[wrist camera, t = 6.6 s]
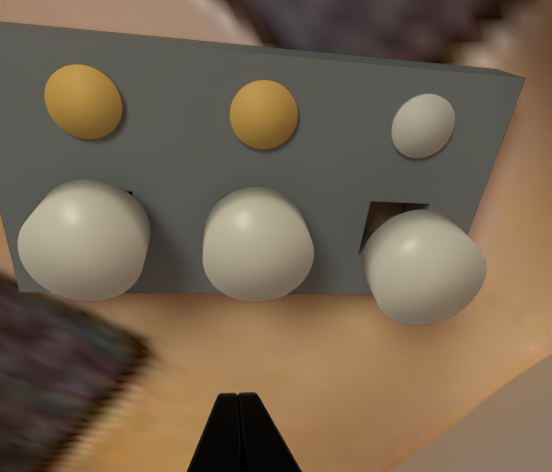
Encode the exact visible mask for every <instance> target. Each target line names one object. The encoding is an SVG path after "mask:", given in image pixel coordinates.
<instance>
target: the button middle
mask: <svg viewBox="0 0 552 472" xmlns="http://www.w3.org/2000/svg"><path fill="white" fill-rule="evenodd" d="M313 258H314V247H313V243H312V240H311V237H310V234H309V231H308V229H307V226H306V223H305V220H304V218H303V215H302V213H301V211H300V209H299V207H298V206H297V205H296V204H295V202H294V201H293V200H291V199H290V198H289V197H288V196H286V195H285V194H283V193H281V192H279V191H276V190H274V189H270V188H265V187H249V188H244V189H240V190H237V191H234V192H232V193H230V194H228V195H226V196H225V197H223V198H222V199H221V200H220V201H219V202H217V203H216V204H215V206H214V207H213V208H212V209H211V211H210V213H209V214H208V217H207V219H206V222H205V227H204V241H203V266H204V270H205V273H206V275H207V277H208V279H209V280H210V282H211V283H212V284H213V285H214V286H215V287H216V288H217V289H218V290H219V291H221V292H222V293H223V294H225V295H227V296H229V297H231V298H234V299H237V300H240V301H246V302H265V301H270V300H274V299H277V298H280V297H282V296H284V295H286V294H288V293H290V292H291V291H293V290H294V289H295V288H297V287H298V286H299V285H300V284H301V283H302V282H303V281H304V279H305V278H306V277H307V275H308V273H309V271H310V269H311V267H312V263H313Z"/></svg>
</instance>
